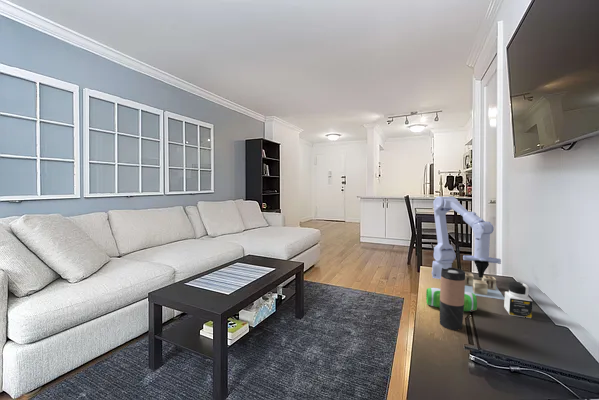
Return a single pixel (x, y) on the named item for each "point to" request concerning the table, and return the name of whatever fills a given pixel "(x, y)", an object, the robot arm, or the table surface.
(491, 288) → the two bar block
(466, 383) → the table surface
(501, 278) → the table surface
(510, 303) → the medicine bottle
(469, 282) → the one bar block
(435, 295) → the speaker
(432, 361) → the table surface
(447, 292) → the travel mug
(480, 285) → the plain block
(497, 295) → the mat
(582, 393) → the table surface
